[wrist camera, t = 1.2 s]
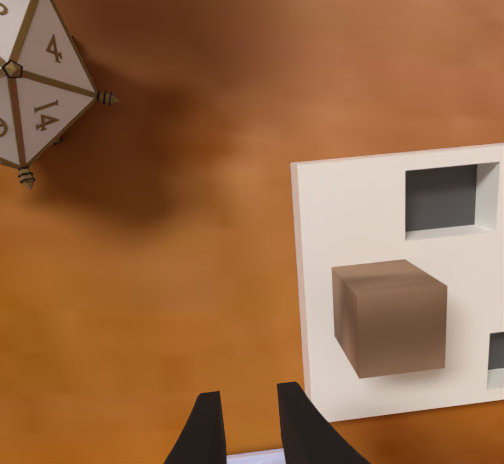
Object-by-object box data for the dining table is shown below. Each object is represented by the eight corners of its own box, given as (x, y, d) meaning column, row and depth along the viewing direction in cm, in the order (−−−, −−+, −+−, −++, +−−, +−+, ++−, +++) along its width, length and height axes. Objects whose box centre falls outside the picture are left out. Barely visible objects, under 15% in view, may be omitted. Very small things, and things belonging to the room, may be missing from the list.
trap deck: (589, 365, 25) (646, 400, 22) (305, 401, 24) (319, 443, 21) (619, 132, 22) (692, 129, 19) (290, 162, 21) (303, 166, 18)
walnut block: (404, 327, 21) (444, 368, 18) (334, 335, 21) (359, 378, 17) (405, 259, 21) (447, 286, 17) (331, 267, 20) (357, 296, 16)
